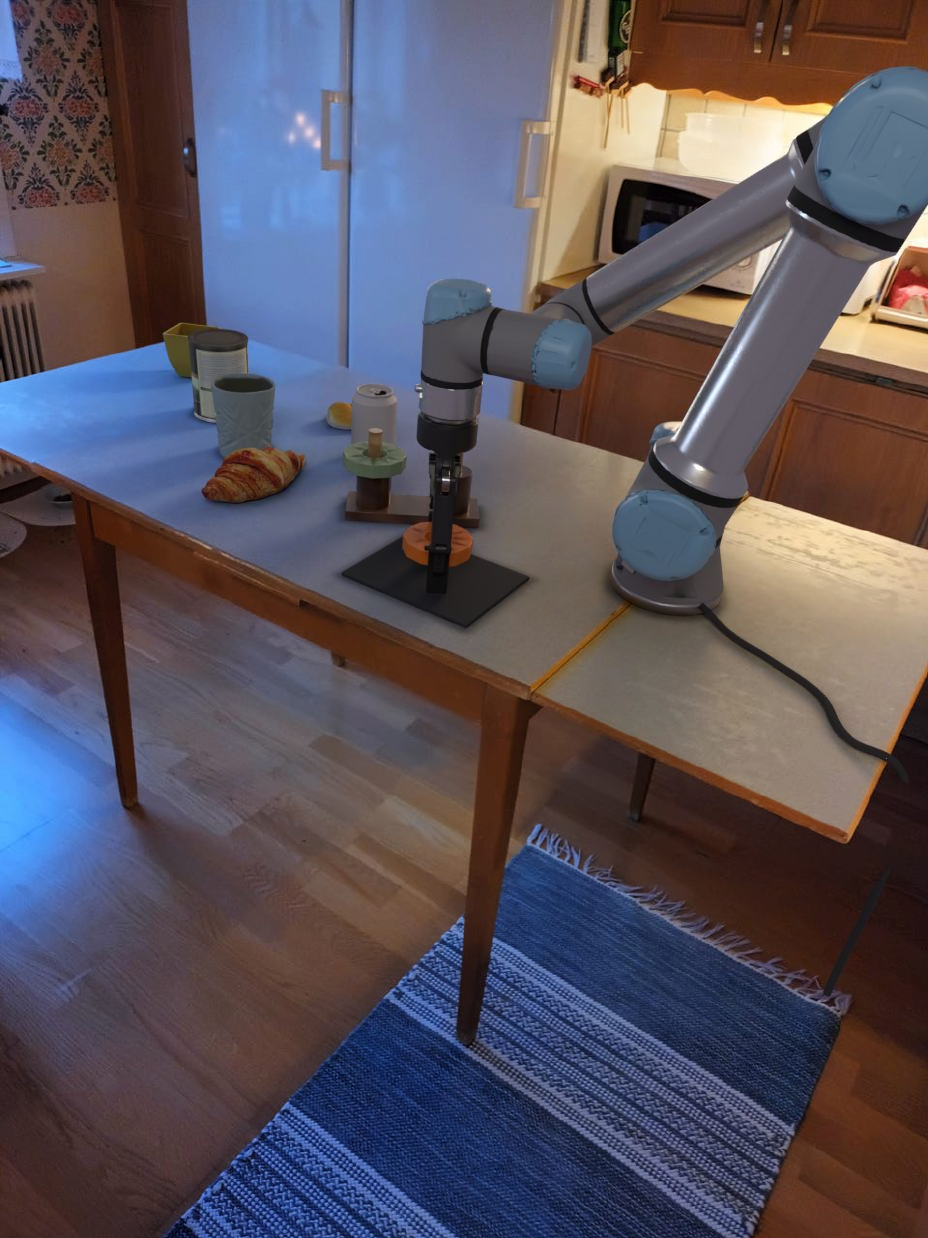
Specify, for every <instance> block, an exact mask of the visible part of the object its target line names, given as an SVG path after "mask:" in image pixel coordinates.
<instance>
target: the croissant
mask: <svg viewBox="0 0 928 1238" xmlns="http://www.w3.org/2000/svg"><path fill="white" fill-rule="evenodd" d="M306 464H307V457H306V455H305V454H303V453H301V454H299V453H297V452H295V451H293V450H291V449H287V450H285V451H283V450H279V449H278V448H276V447H273V446H271V447H266V448H264V449H263V450H262V451H261V450H259V449H256V448H244V449H239V450H236V451H233V452H232V453H231V454H230V455H228V456H227V457H225V458H223V459H222V463H221V465H220V467H218V468H217V469H216V470H215V471H214V475H213V477H211V478H210V479H209V480H208V481H206V484H205V486H204V487H203V488H201V494H202V496H203V497H204V499H206V500H210V501H214V502H227V503H244V502H246V501H247V502H248V501H254V500H261V499H263V498H267V497H268V496H270V495H274V494H277V493H279V492H281V491H283V490H284V489H286V488H287V487H288V486H289V485H290V483H291V482H292V481H293V480H295V479H296V477H297V476H298V473H301V472H302V471H303V469H305V467H306Z"/></svg>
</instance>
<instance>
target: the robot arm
mask: <svg viewBox="0 0 928 1238" xmlns="http://www.w3.org/2000/svg"><path fill="white" fill-rule="evenodd" d="M927 207H928V70H925V69H920V68H918V67H916V66H897V67H889V68H884V69H881V70H879V71H877V72H874V73H872V74H870V75H867V76H866V77H865V78H863V79H861V80H859V81H858V82H856V83H855V84H854V85H853V86H852V87H850V88H849V89H848V90H847V91H846V92H844V93H843V95H842V96H841V97H840V99H839V100H837V102H836V103H835V104H833V106H832V108H831V109H830V110H829V113H828V114H826V115H825V116H824V117H823V118H821V120H819V121H817V122H816V123H815V124H813V125H811V126H810V127H808V128H807V129H805V130H804V131H802V132H800V133H799V134H798V135H796V136H795V137H793V138H792V141H791V144H790V146H789V148H788V151H787V152H786V154H784V155H782V156H781V157H779V158H777V159H776V160H774V161H773V162H770V164H768V165H766V166H764V167H763V168H761V169H760V170H758V171H756V172H754V173H753V174H752V175H750V176H748V177H747V178H745V179H743V180H742V181H740V182H738V183H737V184H735V185H734V186H732V187H730V188H729V189H727V190H726V191H724V192H722V193H721V194H719V195H717V196H716V197H714V198H712V199H711V200H709V201H708V202H706V203H705V204H703V205H701V206H700V207H698V208H696V209H694V210H693V211H691V212H689V213H688V214H686V215H685V216H683V217H682V218H680V219H679V220H677V221H675V222H674V223H671V224H670V225H669V226H667V227H665V228H664V229H662V230H661V231H659V232H658V233H655V234H654V235H653V236H651V237H650V238H648V239H645V240H644V241H642V242H641V243H639V244H638V245H637V246H635V247H633V248H631V249H630V250H628V251H627V252H624V253H623V254H622V255H620V256H618V257H617V258H615V259H614V260H612V261H610V262H609V263H607V264H605V265H604V266H602V267H601V268H599V269H598V270H596V271H594V272H593V273H591V274H590V275H588V277H586V278H585V277H584V279H581V280H579V281H578V282H576V283H574V284H573V285H572V286H570V287H568V288H565V289H563V290H561V291H559V292H558V293H557V294H555V295H554V296H552V297H550V298H549V300H548V301H546V302H545V303H544V304H542V305H539V307H537V308H536V309H535V310H533V311H532V312H523V311H517V310H512V309H511V310H510V309H506V308H501V307H499V306H495V305H493V300H492V291H491V289H490V287H489V286H488V285H487V284H485V283H482V282H478V281H476V280H472V279H466V278H442V279H437V280H435V281H433V282H432V283H431V284H430V285H429V286H428V287H427V290H426V295H425V305H424V312H423V318H422V323H421V324H422V339H421V340H422V343H421V363H420V364H421V366H420V383H419V384H415V385H414V387H413V388H414V389H413V390H414V392H415V393H418V394H419V395H418V396H419V398H418V409H419V410H420V411H419V413H418V414H417V421H416V422H417V423H416V437H415V438H416V441H417V443H418V445H419V446H420V447H422V448H423V449H426V450H428V451H432V452H429V453H428V474H429V495H428V496H429V497H430V499H431V501H430V503H429V507H430V509H433V511H429V518H428V522H432V529H431V543H430V544H429V546H425V547H424V550H425V551H429V553H428V567H427V580H426V592H427V593H444V594H446V593H447V581H448V570H449V559H450V553H451V551H452V547H451V539H452V526H453V512H454V498H455V496H456V495H457V488H458V476H459V475H460V471H461V463H460V455H457V454H459V453H462V452H463V454H464V453H467V452H470V451H472V450H473V449H474V448H475V447H476V445H477V443H478V431H479V423H480V422H479V421H480V420H479V418H478V416H479V415H480V413H481V408H482V407H481V406H482V396H483V385H484V374H485V375H489V376H493V377H498V378H503V379H507V380H511V381H515V382H520V383H525V384H529V385H534V386H537V387H540V388H542V389H543V388H544V389H547V390H548V389H549V390H550V389H554V390H561V391H574V390H575V389H576V388H578V387H579V386H580V385H581V383H582V382H583V378H584V376H585V375H586V372H587V370H588V364H589V362H590V357H591V352H592V347H594V346H596V345H598V344H599V343H601V342H603V341H605V340H606V339H609V338H610V337H612V336H613V335H614V334H616V333H618V332H620V331H621V330H623V329H625V328H627V327H628V326H631V325H632V324H633V323H636V322H637V321H640V319H643V318H644V317H646V316H648V315H650V314H652V313H654V312H655V311H657V310H659V309H660V308H662V307H665V306H666V305H667V304H670V303H672V302H673V301H675V300H677V299H679V298H681V297H682V296H683V295H685V294H687V293H689V292H691V291H694V290H695V289H697V288H698V287H700V286H701V285H704V284H706V283H707V282H709V281H710V280H712V279H714V278H716V277H718V276H719V275H721V274H723V273H725V272H727V271H728V270H730V269H732V268H733V267H736V266H737V265H739V264H741V263H743V262H744V261H746V260H748V259H750V258H752V257H753V256H755V255H757V254H759V253H761V252H762V251H764V250H766V249H767V248H769V247H771V246H773V245H775V244H776V243H778V242H780V243H779V245H778V246H777V248H776V250H775V252H774V254H773V256H772V257H771V259H770V261H769V263H768V265H767V266H766V268H765V270H764V271H763V274H762V276H761V277H760V279H759V281H758V283H757V285H756V287H755V288H754V290H753V292H752V293H751V296H750V298H749V299H748V301H747V303H746V304H745V306H744V308H743V310H742V312H741V314H740V316H739V317H738V319H737V321H736V323H735V324H734V327H733V328H732V330H731V332H730V334H729V336H728V338H727V339H726V340H725V343H724V345H723V346H722V348H721V350H720V351H719V354H718V356H717V357H716V359H715V361H714V363H713V365H712V367H711V369H710V370H709V371H708V374H707V375H706V377H705V379H704V381H703V382H702V384H701V387H700V388H699V390H698V392H697V393H696V396H694V397H695V398H694V399H693V401H692V403H691V404H690V407H689V408H688V410H687V412H686V413H685V415H684V418H683V419H682V421H665V422H661V423H659V424H657V426H655V428H654V430H653V432H652V436H651V439H649V441H648V443H649V445H650V446H649V452H648V455H647V457H646V459H645V460H644V463H643V464H642V466H641V468H640V470H639V472H638V473H637V475H636V478H635V479H634V481H633V483H632V485H631V487H630V488H629V490H628V491H627V494H626V496H625V497H624V499H622V500H621V502H620V503H619V504H618V506H617V507H616V509H615V512H614V516H613V521H612V527H611V532H612V533H611V534H612V542H613V544H614V546H615V548H616V549H615V550H617V553H618V554H617V556H616V557H615V559H614V562H613V563H612V567H611V572H610V584H611V586H612V588H613V590H615V592H616V593H617V594H618V595H619V596H621V597H622V598H623V599H624V600H625V601H627V602H630V603H631V604H632V605H635V606H637V607H638V608H639V607H640V608H642V609H644V610H646V611H647V610H648V611H650V612H654V613H658V614H661V615H662V614H663V615H669V616H695V615H696V616H697V615H701V614H704V615H705V617H707V618H708V619H709V620H710V622H711V623H712V624H713V625H714V626H715V628H717V629H718V631H720V632H721V633H722V634H723V635H724V636H725V637H727V639H729V640H731V641H732V642H733V643H734V644H736V645H738V646H739V647H741V648H742V649H743V650H746V651H747V652H748V653H750V654H753V655H754V656H756V657H757V658H759V659H761V660H762V661H764V662H765V663H767V664H769V666H771V667H773V668H774V669H776V670H778V671H779V672H781V673H782V674H783V675H785V676H787V677H789V678H790V679H791V680H793V681H794V682H796V683H797V684H799V685H800V686H802V687H803V688H805V689H806V690H807V691H808V692H809V693H810V694H812V696H814V697H815V698H816V700H817V701H818V702H819V703H820V705H821V706H822V707H823V709H824V711H825V714H827V718H828V719H829V722H830V724H831V726H832V728H833V730H834V731H835V732H836V734H837V735H838V736H839V737H840V739H842V740H843V741H844V742H845V743H846V744H847V745H849V746H850V747H852V748H853V749H855V750H857V751H859V752H861V753H864V754H867V755H869V756H871V757H875V758H876V759H877V758H878V759H880V760H881V761H883V762H885V763H887V764H888V765H889V766H890V768H892V769H893V770H894V772H895V773H896V775H897V777H898V779H899V781H901V782H902V783H904V784H910V783H911V780H910V777H909V775H908V772H907V770H906V769H905V767H904V765H903V764H902V763H901V762H900V761H899V760H898V758H896V757H895V756H893V755H892V754H891V753H889V752H887V751H885V750H883V749H880V748H878V747H875V746H873V745H871V744H867V743H864V742H862V741H860V740H858V739H857V738H855V737H854V736H852V734H850V733H849V732H848V730H846V728H845V727H844V725H843V723H841V720H840V718H839V716H838V714H837V712H836V709H835V707H834V705H833V704H832V702H831V701H830V699H829V698H828V697H827V696H826V695H825V693H824V692H822V690H820V689H819V688H818V687H817V686H816V685H815V684H813V683H812V682H811V681H810V680H808V679H807V678H805V677H804V676H802V675H801V674H799V673H798V672H796V671H795V670H793V669H792V668H790V667H788V666H787V665H785V664H784V663H782V662H781V661H779V660H778V659H776V658H775V657H773V656H772V655H770V654H769V653H767V652H765V651H764V650H762V649H761V648H758V647H757V646H756V645H753V644H752V643H750V642H748V641H747V640H745V639H743V638H742V637H740V636H739V635H737V634H736V633H735V632H733V631H732V630H731V629H730V628H729V627H727V626H726V625H725V623H724V622H722V620H721V619H720V618H719V617H718V616H717V615H716V613H714V612H713V609H715V608H716V607H717V606H718V605H719V604H720V601H721V598H722V595H723V591H724V577H723V574H724V573H723V564H722V554H721V544H722V540H723V536H724V532H725V530H726V526H727V524H728V522H729V521H730V519H731V518H732V516H733V515H734V513H735V511H736V510H737V508H738V506H739V505H740V503H741V502H742V500H743V499H744V497H745V495H746V494H747V492H748V490H749V483H748V480H747V477H746V473H745V469H746V468H747V467H748V465H749V463H750V462H751V460H752V458H753V457H754V455H755V454H756V451H757V450H758V448H759V447H760V445H761V444H762V442H763V440H764V438H765V437H766V436H767V434H768V432H769V431H770V429H771V427H772V426H773V424H774V422H775V421H776V419H777V418H778V416H779V415H780V413H781V411H782V409H783V408H784V406H785V405H786V403H787V402H788V400H789V398H790V397H791V395H792V394H793V392H794V390H795V389H796V387H797V385H798V384H799V382H800V381H801V379H802V378H803V375H804V374H805V373H806V371H807V369H808V367H809V366H810V364H811V362H812V361H813V360H814V358H815V356H816V355H817V353H818V351H819V350H820V348H821V346H822V345H823V343H824V341H825V340H826V338H827V337H828V335H829V333H830V332H831V331H832V328H833V327H834V325H835V324H836V322H837V320H838V319H839V317H840V316H841V314H842V312H843V311H844V309H845V307H846V306H847V305H848V303H849V302H850V299H851V298H852V296H853V295H854V293H855V291H856V290H857V288H858V287H859V285H860V283H861V282H862V280H863V278H864V277H865V275H866V273H867V272H868V270H869V269H870V267H872V266H873V265H874V264H877V263H878V262H882V261H884V260H887V259H889V258H892V257H895V256H897V255H898V253H899V251H900V250H901V249H902V247H903V245H904V243H905V242H906V240H907V239H908V237H909V235H910V234H911V232H912V231H913V230H914V228H915V226H916V224H917V223H918V221H919V220H920V218H921V217H922V215H923V213H924V212H925V211H926V209H927ZM886 758H887V759H886ZM891 867H892V864H890V865H889V866H888V868H887V869H886V871H885V872H884V873H883V874H882V876H881V877H880V878H879V880H878V881H877V882H876V884H875V885H874V887H873V888H872V889H871V891H870V892H869V895H868V896H867V900H866V901H865V904H864V905H863V908H862V910H861V912H860V915H859V917H858V918H857V920H856V922H855V924H854V927H853V928H852V930H851V932H850V934H849V936H848V938H847V940H846V942H845V944H844V946H843V948H842V950H841V952H840V953H839V956H838V958H837V960H836V962H835V964H834V966H833V968H832V970H831V972H830V975H829V976H828V979H827V981H826V984H825V986H824V988H823V991H822V994H823V995H824V996H825V997H828V998H830V997H831V996H832V994H833V991H834V989H835V987H836V985H837V982H838V980H839V978H840V976H841V974H842V972H843V970H844V968H845V966H846V963H847V962H848V960H849V958H850V956H851V954H852V952H853V950H854V948H855V946H856V944H857V942H858V941H859V939H860V937H861V935H862V933H863V932H864V930H865V927H866V925H867V923H868V921H869V919H870V917H871V915H872V913H873V911H874V909H875V907H876V905H877V902H878V900H879V898H880V895H881V893H882V891H883V888H884V886H885V883H886V880H887V879H888V876H889V873H890V869H891Z"/></svg>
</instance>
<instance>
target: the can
mask: <svg viewBox="0 0 928 1238" xmlns="http://www.w3.org/2000/svg"><path fill="white" fill-rule="evenodd" d="M394 393H395V390H394V389H393V388H392V387H390V386H388V385H386V384H382V383H363V384H360V385H358V386H357V387H356V388H355V393H353V395H352V396H351V403H352V423H351V430H350V431H351V433H350V441H351V442H350V445H352V444H355V443H359V442H368V436H369V429H371V428H379V429H381V430H382V442H383V443H389V444H393V445H395V446H396V441H397V440H396V438H397V437H396V435H397V414H398V398H397V396H396V395H395V394H394Z"/></svg>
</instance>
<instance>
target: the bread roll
mask: <svg viewBox="0 0 928 1238" xmlns="http://www.w3.org/2000/svg"><path fill="white" fill-rule="evenodd" d="M325 419H326V422H327V424H328V425H329V426H330V427H331V428H334V429H338V430H346V431H347V430H348V431H349V430H350V431H351V423H352V402H351V403H347V402H342V401H336V402H333V403H331V405H329V406H328V409H327V412H326V416H325Z"/></svg>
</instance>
